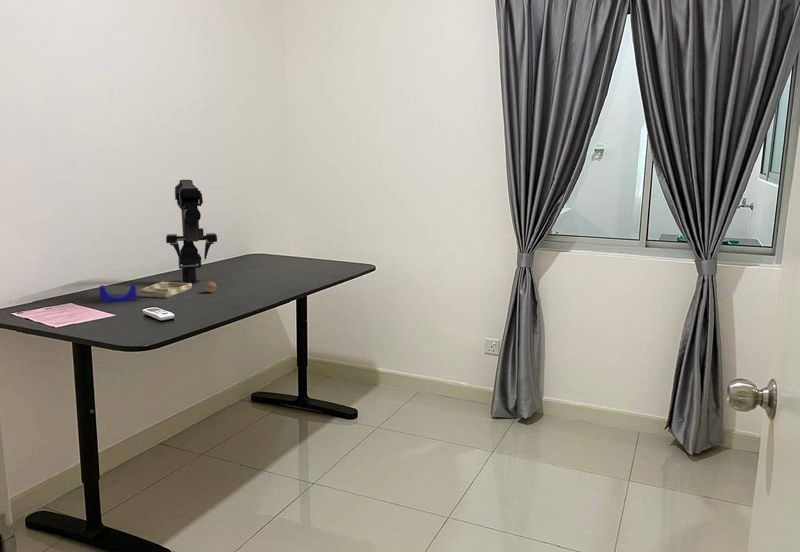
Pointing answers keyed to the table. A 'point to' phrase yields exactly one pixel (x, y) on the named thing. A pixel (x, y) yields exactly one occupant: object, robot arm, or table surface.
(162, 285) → the tall beige post
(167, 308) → the table surface
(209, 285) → the bead
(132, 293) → the cable clip
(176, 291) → the tray
